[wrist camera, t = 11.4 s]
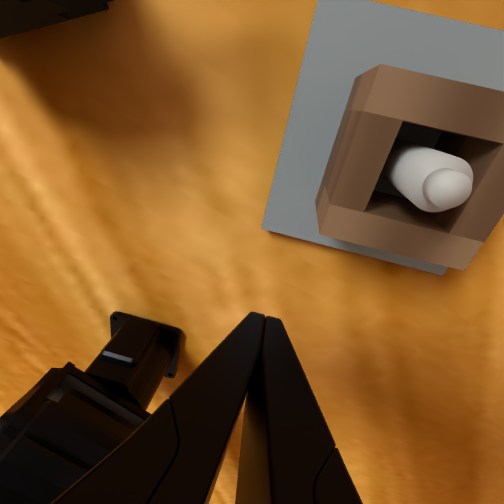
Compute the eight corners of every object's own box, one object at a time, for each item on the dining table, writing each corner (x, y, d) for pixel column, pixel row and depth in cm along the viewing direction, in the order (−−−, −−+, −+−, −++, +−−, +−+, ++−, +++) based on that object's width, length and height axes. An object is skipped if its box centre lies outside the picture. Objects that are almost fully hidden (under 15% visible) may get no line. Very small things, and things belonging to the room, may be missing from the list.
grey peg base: (436, 267, 19) (513, 361, 12) (263, 223, 19) (241, 287, 12) (572, 54, 13) (878, -6, 6) (319, -3, 13) (337, -117, 7)
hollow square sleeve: (314, 201, 17) (319, 234, 12) (355, 77, 14) (380, 63, 9) (421, 227, 17) (464, 271, 12) (487, 107, 13) (577, 107, 9)
